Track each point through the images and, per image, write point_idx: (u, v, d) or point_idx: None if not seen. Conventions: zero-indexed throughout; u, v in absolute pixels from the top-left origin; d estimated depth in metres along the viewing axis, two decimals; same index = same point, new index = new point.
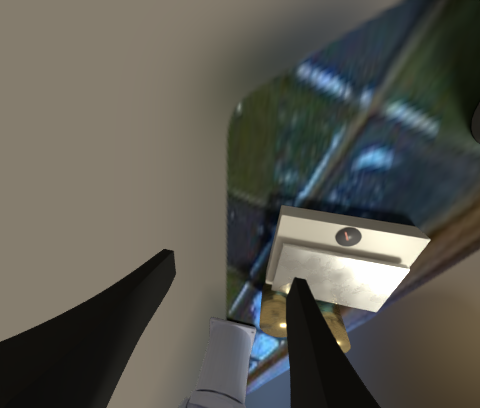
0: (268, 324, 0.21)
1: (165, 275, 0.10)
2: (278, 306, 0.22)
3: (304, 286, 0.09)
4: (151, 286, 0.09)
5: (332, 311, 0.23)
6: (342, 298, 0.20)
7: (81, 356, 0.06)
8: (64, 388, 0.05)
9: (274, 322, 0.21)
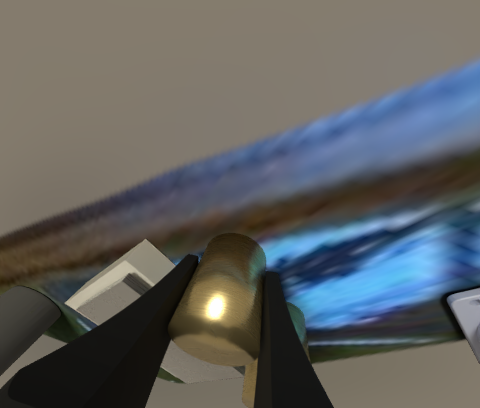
0: None
1: None
2: None
3: (274, 279, 0.09)
4: (180, 293, 0.09)
5: None
6: None
7: (125, 369, 0.06)
8: (111, 403, 0.05)
9: None
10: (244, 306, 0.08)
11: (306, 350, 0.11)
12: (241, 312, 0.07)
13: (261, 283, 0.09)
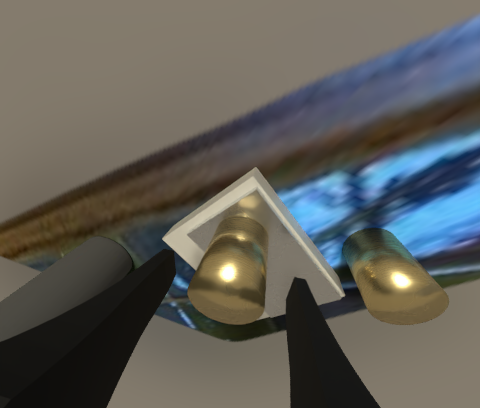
0: (407, 315, 0.11)
1: (165, 275, 0.10)
2: None
3: (304, 286, 0.09)
4: (151, 286, 0.09)
5: None
6: (276, 240, 0.13)
7: (81, 356, 0.06)
8: (64, 388, 0.05)
9: (391, 312, 0.11)
10: (254, 271, 0.09)
11: None
12: (252, 275, 0.09)
13: (266, 258, 0.11)
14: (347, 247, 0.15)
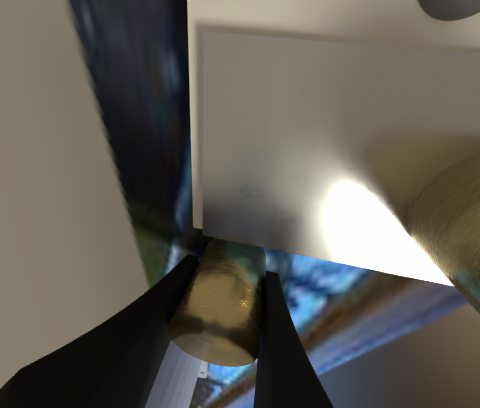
0: (189, 334, 0.08)
1: None
2: (219, 285, 0.08)
3: (274, 279, 0.09)
4: (180, 293, 0.09)
5: None
6: (399, 251, 0.07)
7: (125, 369, 0.06)
8: (111, 403, 0.05)
9: (202, 329, 0.07)
10: None
11: None
12: None
13: None
14: (260, 256, 0.11)
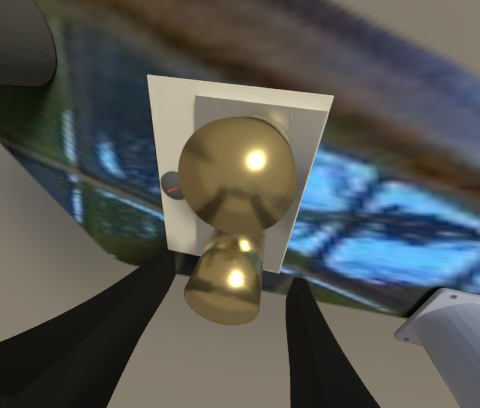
0: (201, 296, 0.10)
1: (165, 275, 0.10)
2: (222, 255, 0.10)
3: (304, 286, 0.09)
4: (151, 286, 0.09)
5: None
6: None
7: (81, 356, 0.06)
8: (64, 388, 0.05)
9: (211, 289, 0.09)
10: None
11: None
12: None
13: None
14: (258, 235, 0.12)
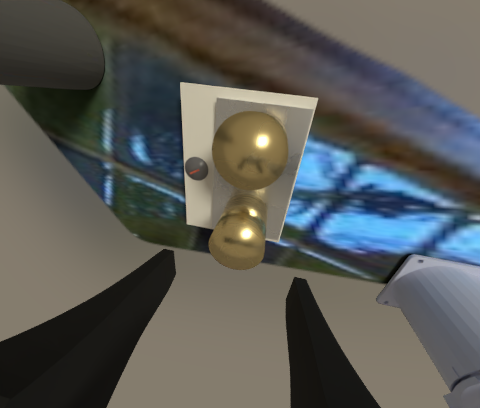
0: (221, 245, 0.13)
1: (165, 275, 0.10)
2: (237, 215, 0.13)
3: (304, 286, 0.09)
4: (151, 286, 0.09)
5: None
6: None
7: (81, 356, 0.06)
8: (64, 388, 0.05)
9: (229, 238, 0.13)
10: (285, 134, 0.09)
11: None
12: (284, 133, 0.09)
13: None
14: (262, 206, 0.16)
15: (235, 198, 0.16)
